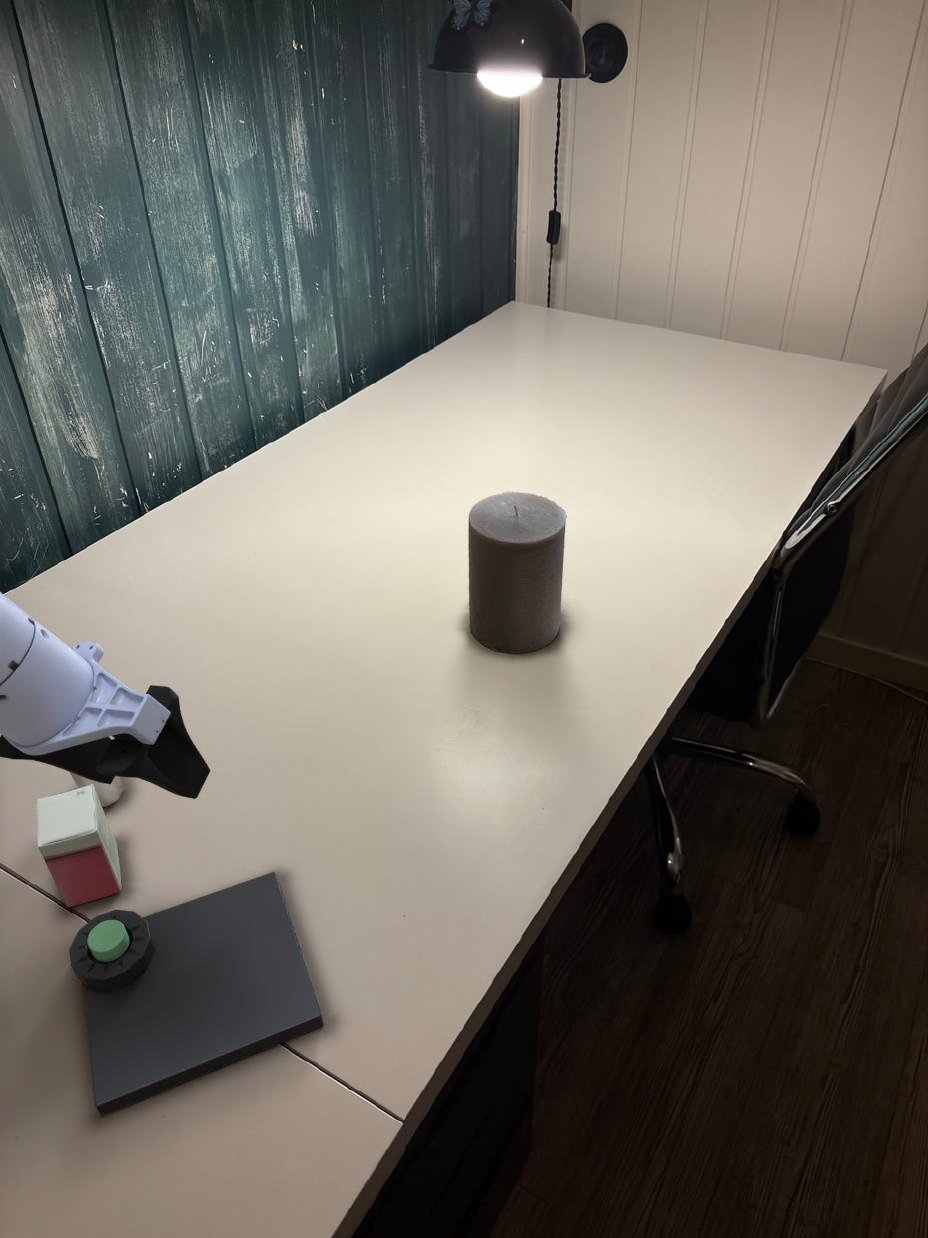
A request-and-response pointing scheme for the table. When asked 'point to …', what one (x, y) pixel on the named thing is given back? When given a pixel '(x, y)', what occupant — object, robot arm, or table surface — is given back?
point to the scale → (192, 990)
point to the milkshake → (102, 788)
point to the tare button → (108, 941)
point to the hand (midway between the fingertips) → (156, 776)
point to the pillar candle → (515, 571)
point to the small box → (78, 845)
